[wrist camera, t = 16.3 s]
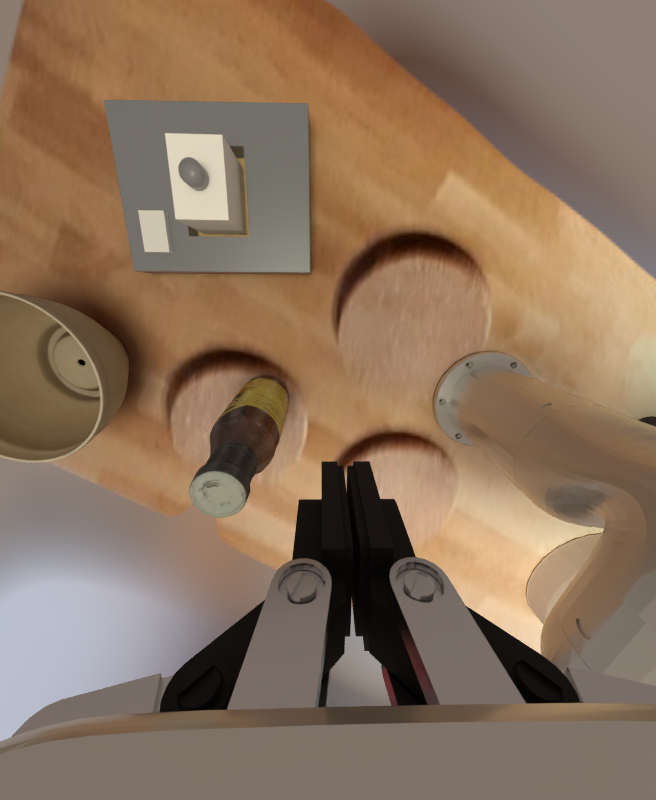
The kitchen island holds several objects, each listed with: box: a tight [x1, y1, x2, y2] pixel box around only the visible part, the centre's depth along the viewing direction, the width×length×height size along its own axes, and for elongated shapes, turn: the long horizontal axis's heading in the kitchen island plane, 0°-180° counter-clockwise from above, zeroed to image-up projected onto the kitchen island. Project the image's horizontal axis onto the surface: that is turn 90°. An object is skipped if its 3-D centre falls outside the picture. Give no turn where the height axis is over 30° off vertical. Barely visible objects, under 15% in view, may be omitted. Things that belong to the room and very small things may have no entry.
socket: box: [104, 100, 311, 275], centre depth 31 cm, size 18×14×4 cm
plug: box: [165, 133, 247, 235], centre depth 28 cm, size 4×6×9 cm
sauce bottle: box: [189, 376, 289, 518], centre depth 31 cm, size 7×6×20 cm
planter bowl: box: [0, 291, 130, 463], centre depth 33 cm, size 16×16×11 cm
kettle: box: [526, 534, 602, 625], centre depth 43 cm, size 20×21×18 cm
